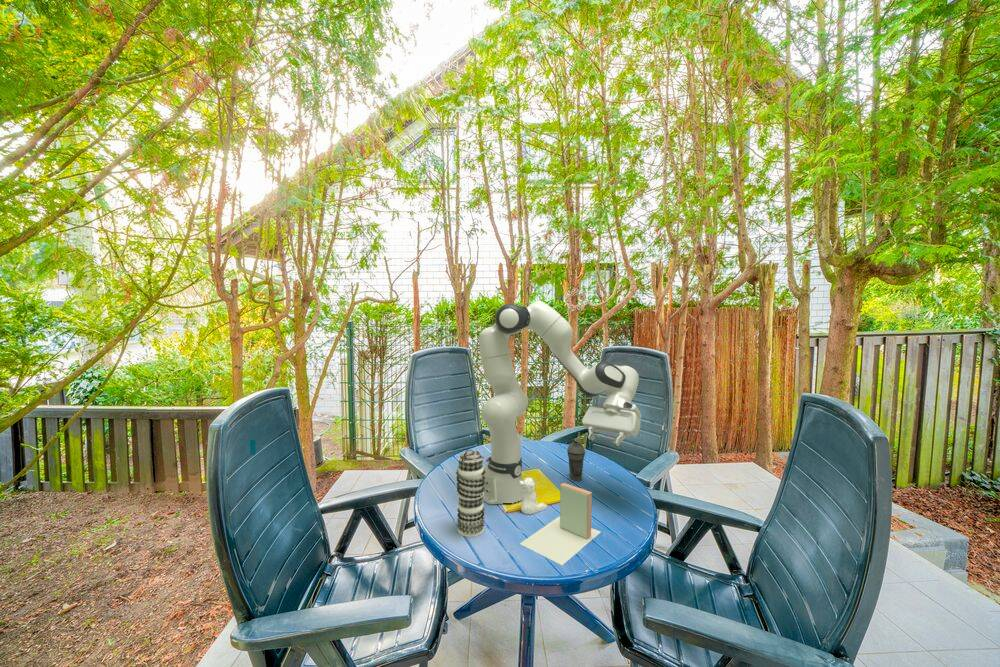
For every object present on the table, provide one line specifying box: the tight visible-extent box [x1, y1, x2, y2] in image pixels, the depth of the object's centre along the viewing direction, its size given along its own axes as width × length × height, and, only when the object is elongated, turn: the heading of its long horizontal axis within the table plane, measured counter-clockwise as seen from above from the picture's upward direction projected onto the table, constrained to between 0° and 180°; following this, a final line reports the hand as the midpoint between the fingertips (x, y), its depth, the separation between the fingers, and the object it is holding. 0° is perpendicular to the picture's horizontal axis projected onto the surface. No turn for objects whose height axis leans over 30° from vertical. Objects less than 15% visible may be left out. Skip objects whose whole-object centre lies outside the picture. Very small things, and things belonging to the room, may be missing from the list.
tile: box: [559, 482, 593, 539], centre depth 126 cm, size 10×2×14 cm, turn 48°
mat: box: [519, 515, 602, 566], centre depth 123 cm, size 15×22×1 cm
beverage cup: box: [566, 431, 586, 482], centre depth 166 cm, size 7×7×20 cm
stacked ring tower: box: [455, 449, 485, 538], centre depth 128 cm, size 9×9×25 cm
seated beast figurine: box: [519, 477, 548, 515], centre depth 140 cm, size 10×9×12 cm
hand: (602, 441), depth 137 cm, fingers open, 8 cm apart
